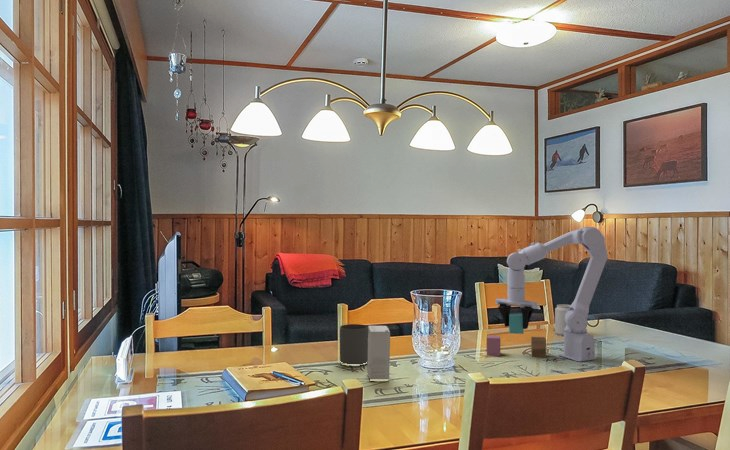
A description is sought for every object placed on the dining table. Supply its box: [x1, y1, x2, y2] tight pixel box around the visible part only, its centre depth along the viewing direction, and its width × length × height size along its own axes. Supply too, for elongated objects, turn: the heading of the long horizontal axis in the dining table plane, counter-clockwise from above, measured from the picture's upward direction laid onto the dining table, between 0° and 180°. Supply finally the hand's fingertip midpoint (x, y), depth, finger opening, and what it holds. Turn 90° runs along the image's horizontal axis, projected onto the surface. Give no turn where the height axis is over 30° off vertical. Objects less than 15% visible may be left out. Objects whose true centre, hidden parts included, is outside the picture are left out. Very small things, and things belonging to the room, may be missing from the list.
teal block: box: [508, 313, 524, 335], centre depth 192 cm, size 4×4×6 cm
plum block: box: [486, 334, 501, 357], centre depth 193 cm, size 4×4×6 cm
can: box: [554, 303, 571, 337], centre depth 226 cm, size 8×8×12 cm
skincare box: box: [366, 325, 391, 380], centre depth 164 cm, size 8×6×15 cm
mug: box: [339, 323, 368, 364], centre depth 183 cm, size 14×9×12 cm
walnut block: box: [530, 336, 547, 359], centre depth 191 cm, size 4×4×6 cm
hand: (516, 327), depth 192 cm, fingers closed on teal block, 6 cm apart
